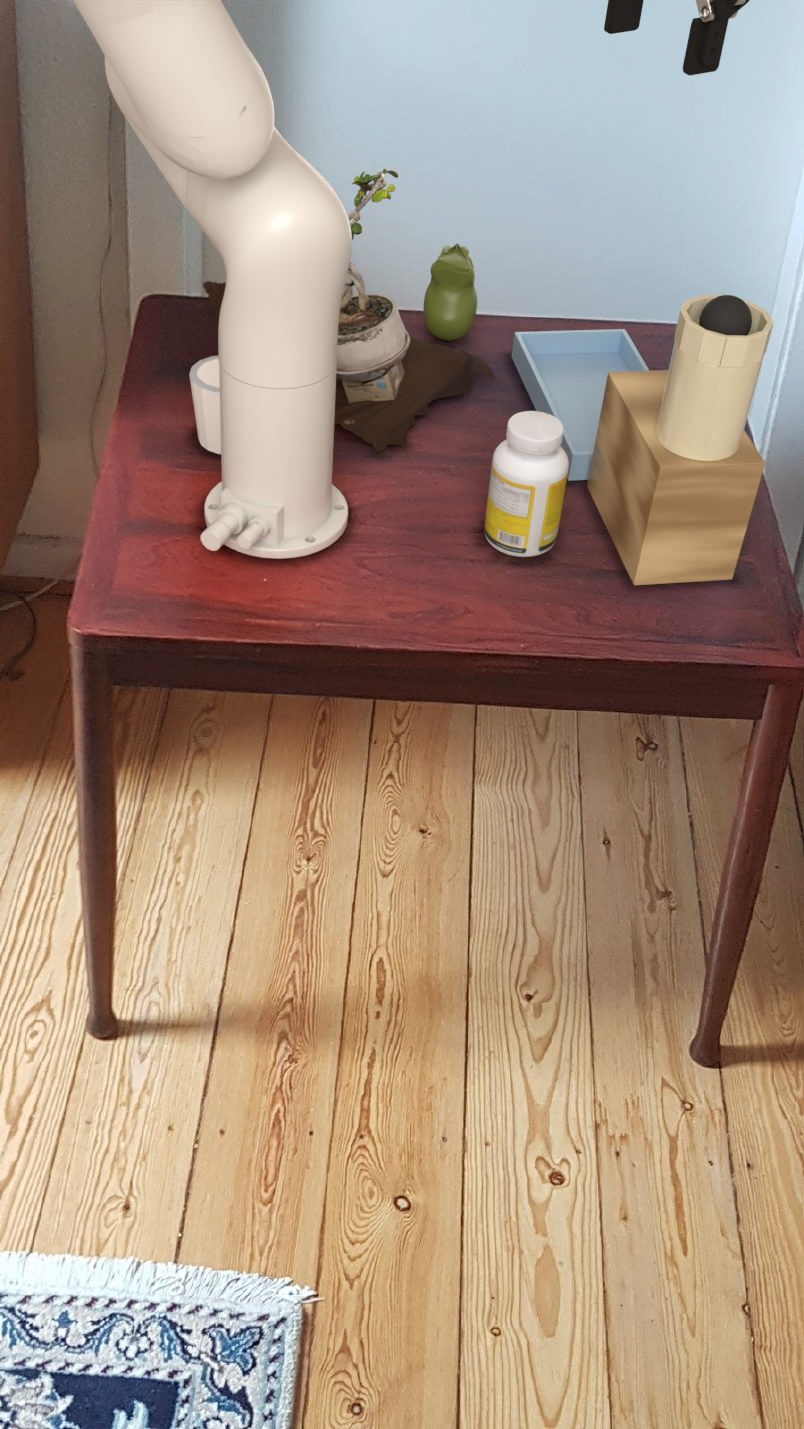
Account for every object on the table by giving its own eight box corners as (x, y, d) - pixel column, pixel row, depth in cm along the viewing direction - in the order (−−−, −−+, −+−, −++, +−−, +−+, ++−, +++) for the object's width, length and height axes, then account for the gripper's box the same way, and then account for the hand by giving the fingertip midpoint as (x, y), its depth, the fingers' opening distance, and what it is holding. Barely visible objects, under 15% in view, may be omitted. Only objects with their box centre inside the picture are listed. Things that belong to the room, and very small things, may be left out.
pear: (475, 329, 154) (486, 240, 147) (469, 353, 150) (479, 263, 144) (424, 321, 155) (432, 233, 148) (417, 345, 151) (424, 255, 144)
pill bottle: (556, 521, 129) (575, 409, 121) (555, 564, 124) (575, 450, 116) (484, 513, 129) (499, 400, 121) (480, 556, 125) (495, 441, 117)
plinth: (732, 579, 125) (765, 462, 116) (633, 585, 123) (660, 467, 115) (678, 482, 135) (705, 368, 127) (586, 486, 134) (607, 371, 125)
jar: (727, 470, 115) (759, 347, 108) (644, 446, 117) (670, 322, 109) (749, 430, 120) (781, 309, 112) (669, 407, 122) (696, 286, 114)
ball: (737, 362, 111) (750, 315, 108) (688, 349, 112) (699, 301, 109) (750, 341, 113) (763, 294, 111) (702, 328, 114) (713, 281, 112)
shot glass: (231, 467, 132) (229, 400, 127) (176, 439, 135) (173, 373, 130) (279, 437, 136) (280, 372, 131) (226, 411, 139) (224, 345, 134)
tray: (689, 475, 136) (696, 449, 134) (568, 481, 134) (572, 454, 132) (620, 353, 152) (625, 328, 150) (511, 357, 150) (514, 331, 148)
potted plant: (392, 484, 136) (318, 238, 119) (248, 453, 146) (162, 224, 130) (504, 372, 146) (450, 131, 129) (361, 351, 156) (295, 125, 140)
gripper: (589, -226, 105) (556, 21, 116) (749, -170, 95) (694, 96, 106) (667, -230, 108) (627, 11, 120) (830, -176, 98) (769, 82, 109)
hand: (659, 51), depth 113 cm, fingers open, 9 cm apart
